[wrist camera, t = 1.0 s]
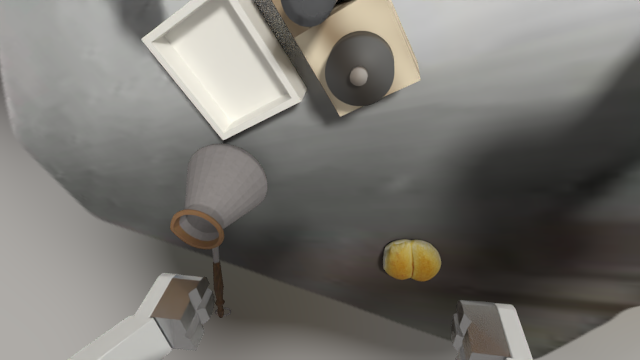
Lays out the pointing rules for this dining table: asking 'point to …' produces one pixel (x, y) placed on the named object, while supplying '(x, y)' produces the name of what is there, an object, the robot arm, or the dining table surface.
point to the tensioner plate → (349, 22)
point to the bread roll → (411, 260)
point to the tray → (227, 63)
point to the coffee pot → (218, 200)
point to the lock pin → (308, 11)
